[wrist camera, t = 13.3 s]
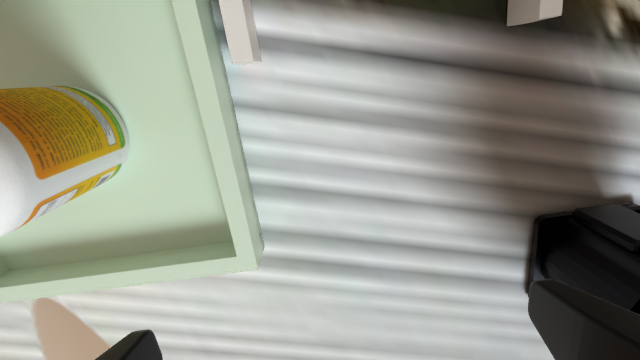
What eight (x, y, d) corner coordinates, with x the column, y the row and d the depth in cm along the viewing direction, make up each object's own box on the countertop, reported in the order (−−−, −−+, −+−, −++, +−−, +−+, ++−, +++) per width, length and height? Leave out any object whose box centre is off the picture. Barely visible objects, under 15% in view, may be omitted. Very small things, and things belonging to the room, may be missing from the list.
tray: (264, 246, 20) (258, 269, 18) (9, 280, 21) (-29, 306, 18) (195, -66, 15) (173, -92, 13) (-148, -12, 15) (-232, -28, 13)
